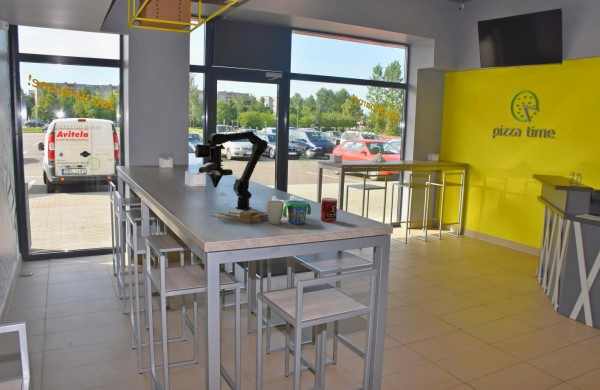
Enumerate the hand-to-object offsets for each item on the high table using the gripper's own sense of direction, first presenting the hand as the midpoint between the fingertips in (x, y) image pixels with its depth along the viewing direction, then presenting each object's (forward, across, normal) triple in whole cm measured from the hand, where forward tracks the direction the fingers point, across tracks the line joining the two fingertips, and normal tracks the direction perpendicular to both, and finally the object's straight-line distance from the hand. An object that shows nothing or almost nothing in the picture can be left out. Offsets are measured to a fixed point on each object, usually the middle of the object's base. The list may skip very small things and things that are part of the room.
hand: (215, 187), depth 254 cm
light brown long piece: (+12, +22, -6) cm, 26 cm away
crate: (+12, +28, -7) cm, 32 cm away
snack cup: (+12, +50, +2) cm, 51 cm away
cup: (+12, +42, -5) cm, 44 cm away
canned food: (+12, +59, +17) cm, 63 cm away
